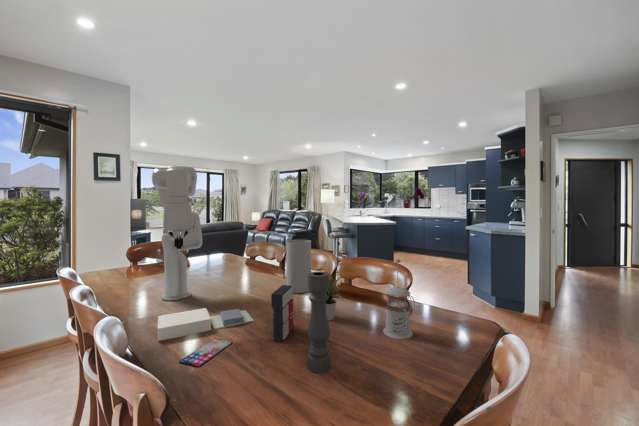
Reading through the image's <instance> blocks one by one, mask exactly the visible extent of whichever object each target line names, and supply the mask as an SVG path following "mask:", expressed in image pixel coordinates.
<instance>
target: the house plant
mask: <svg viewBox="0 0 639 426" xmlns="http://www.w3.org/2000/svg"><path fill="white" fill-rule="evenodd" d="M343 278H344V277H343V276H340V277H339V278H337V279H336V280H332V279H331V276H330V275H329V287H328V290H327V292H326V295H327V296H328V300H327V301H326V315H327V319H328V321H331V320H334V318H335V315H336V309H337V307H336V306H337V300H336V299H340V297H342V294H341V293H338V292H339V291H340V290H341V289H343V287H340V288H338V287H339V286H340V285H341V284H344V283H345V284H346V283H347V281H341V282H339V281H340V280H341V279H343ZM337 283H338V284H337ZM334 287H335V288H334ZM337 288H338V289H337ZM339 296H340V297H339Z"/></svg>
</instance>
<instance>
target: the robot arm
mask: <svg viewBox="0 0 639 426" xmlns="http://www.w3.org/2000/svg"><path fill="white" fill-rule="evenodd" d="M197 181H198V173H197V171H196V169H195V168H194V167H193V166H185V165H183V166H181V165H170V166H167V167H158V168H156V167H155V168H154V170H152V175H151V182H152V185H153V187H154V188H156V189H157V196H158V198H159V201H160V203H161V205H162V207H163V216H162V217H163V222H162V227H163V230H162V236H161V244H162V250H163V263H164V293H163V294H161V297H160V298H161V299H162V301H178V300H183V299H186V298H189V297H190V296H191V294H192V292H191V291H190V290H188V260H187V256H186V255H185V254H184V253H183V252H181V251H187V250H195V249H200V248H201V247H202V245H203V233H202V226H201V218H200V215H199V214H198V213H197V212H194V211H192V205H191V204H189V203H191V202H193V201H194V200H193V196H194V195H195V194H196V190H197Z"/></svg>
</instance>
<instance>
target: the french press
mask: <svg viewBox="0 0 639 426" xmlns="http://www.w3.org/2000/svg"><path fill="white" fill-rule="evenodd" d="M394 263H396V264H397V265H396V266H397V269H396V270H397V272H396V273H397V276H396V277H397V278H396V279H397V281H396V283H397V284H396V285H397V286H392V287H390V288H387V289H385V293H386V295H388V296H391V297H394V298H397V299H393V300H388V301H387V302H386V306H385V327H383V329H382V333H383V335H385V336H388V337H389V338H392V339H395V340H396V339H397V340H398V339H399V340H405V339H409V338H411V337H412V336H413V331H412V330H411V329H410V322H411V319H410V317H411V316H412V315H413V313H414V312H415V307H416V301H415V298H414V297H413V296H411V292H410V291H409V290H408V289H406V288H404V287H402V286H399V263H401V259H400V258H396V259H395V260H394ZM399 298H404V299H406V300H410V305H409V303H407V301H404V300H399ZM411 298H412V299H411ZM412 300H413V302H412ZM412 303H413V304H412ZM409 306H410V307H409ZM412 306H413V310H412V312H411V313H410V311H411V309H412ZM391 308H392V309H391Z"/></svg>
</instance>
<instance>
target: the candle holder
mask: <svg viewBox="0 0 639 426" xmlns="http://www.w3.org/2000/svg"><path fill="white" fill-rule="evenodd" d="M329 276H330V273H329V272H327V271H311V272H310V273H308V287H309V290H310V291H309V292H310V295H309V296H308V300H309V301H310V302H311V308H310V309H311V313H310V318H309V323H308V327H307V331H306V332H307V336H308V339H309V341H310V346H309V347H308V349H307V351H308V353H307V358H306V359H307V364H306V365H307V369H308V371H309V372H310V373H313V374H316V375H318V374H319V375H320V374H325V373H328V372H329V371H330V370H331V367H332V364H331V363H332V359H331V357H332V355H331V352H330V347H329V345H328V340H329V338H331V337H330V336H331V328H330V324H329V320H328V319H327V315H326V301H327V300H328V296H327V295H326V292H327V290H328V287H329Z"/></svg>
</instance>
